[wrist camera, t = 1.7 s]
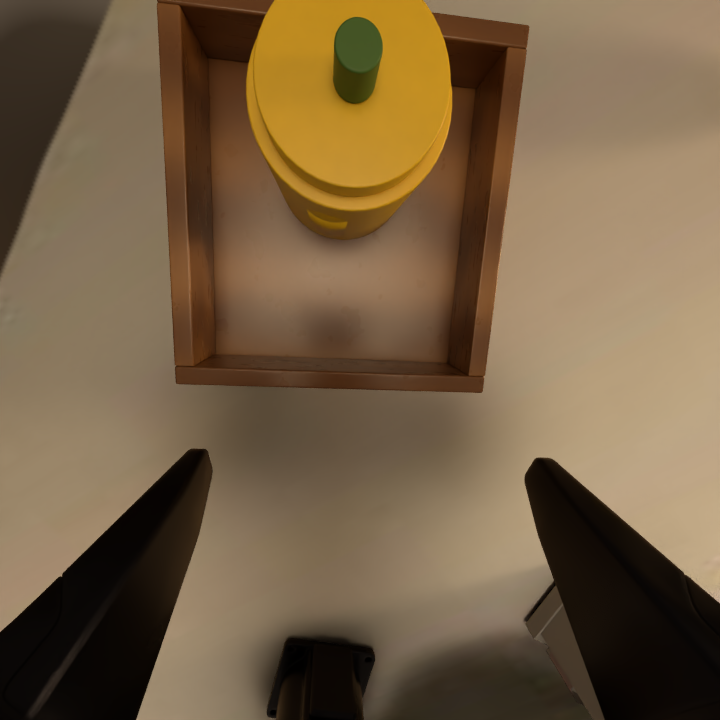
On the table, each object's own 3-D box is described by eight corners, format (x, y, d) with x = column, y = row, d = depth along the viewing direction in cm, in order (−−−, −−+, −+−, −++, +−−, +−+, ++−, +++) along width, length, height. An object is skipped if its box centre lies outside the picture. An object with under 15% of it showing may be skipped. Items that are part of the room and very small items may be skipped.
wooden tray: (444, 367, 22) (483, 393, 16) (215, 359, 20) (175, 384, 15) (472, 99, 19) (530, 24, 13) (208, 70, 17) (154, -27, 12)
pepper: (387, 257, 18) (445, 227, 9) (263, 221, 17) (190, 146, 8) (423, 125, 16) (531, -61, 8) (293, 79, 16) (247, -189, 7)
